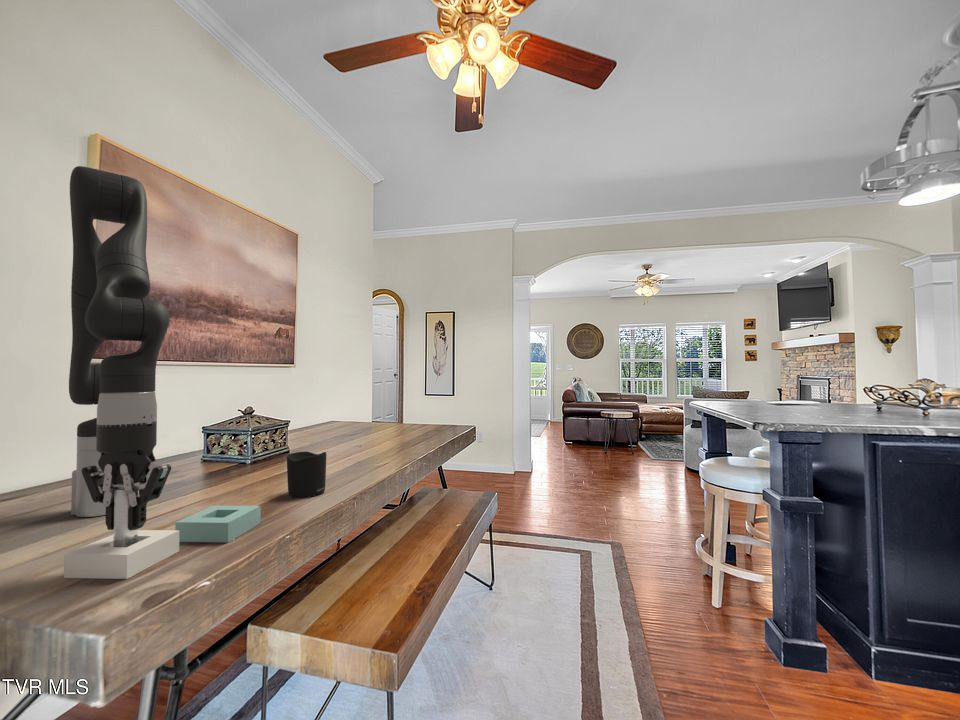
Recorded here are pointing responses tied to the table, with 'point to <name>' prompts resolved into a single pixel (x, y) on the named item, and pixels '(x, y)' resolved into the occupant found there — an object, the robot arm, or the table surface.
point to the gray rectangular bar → (122, 520)
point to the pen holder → (306, 474)
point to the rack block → (218, 523)
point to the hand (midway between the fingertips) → (126, 527)
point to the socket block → (121, 556)
